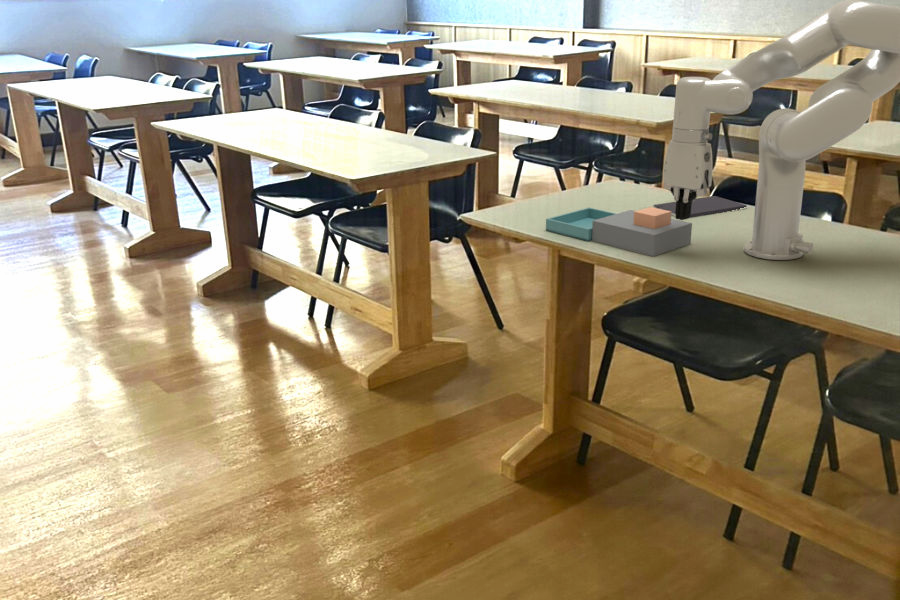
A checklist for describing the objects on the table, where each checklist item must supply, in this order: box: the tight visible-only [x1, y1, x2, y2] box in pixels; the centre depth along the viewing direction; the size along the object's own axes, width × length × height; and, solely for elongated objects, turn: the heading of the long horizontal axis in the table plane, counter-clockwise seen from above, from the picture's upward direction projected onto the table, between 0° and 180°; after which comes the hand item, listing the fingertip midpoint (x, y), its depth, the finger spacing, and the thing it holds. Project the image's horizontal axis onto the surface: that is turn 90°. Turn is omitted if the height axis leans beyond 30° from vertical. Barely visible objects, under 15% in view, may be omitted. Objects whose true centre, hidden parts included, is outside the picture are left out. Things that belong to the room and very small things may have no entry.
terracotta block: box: [634, 206, 672, 229], centre depth 200 cm, size 6×6×3 cm
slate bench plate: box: [591, 209, 693, 257], centre depth 204 cm, size 18×14×5 cm
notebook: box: [653, 195, 747, 219], centre depth 233 cm, size 13×2×21 cm
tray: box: [545, 207, 617, 242], centre depth 216 cm, size 14×16×3 cm
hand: (682, 218), depth 193 cm, fingers closed
